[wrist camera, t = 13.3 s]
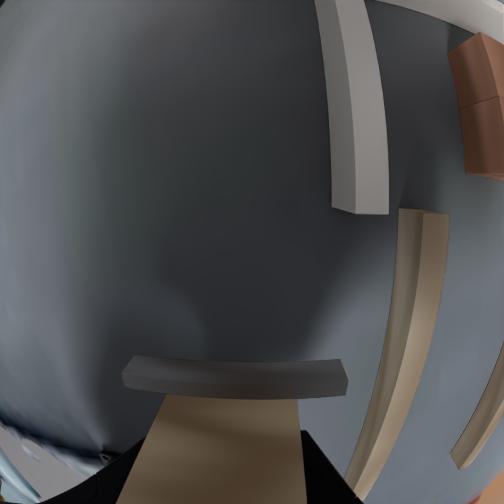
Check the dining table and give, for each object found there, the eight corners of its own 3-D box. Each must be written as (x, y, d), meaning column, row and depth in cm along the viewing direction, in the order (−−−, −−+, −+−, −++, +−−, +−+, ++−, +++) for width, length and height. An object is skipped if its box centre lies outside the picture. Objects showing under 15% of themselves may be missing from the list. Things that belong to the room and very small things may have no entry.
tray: (331, 206, 10) (355, 213, 7) (309, -22, 8) (317, -62, 5) (555, 221, 9) (587, 229, 6) (534, 59, 7) (560, 50, 4)
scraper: (160, 438, 10) (117, 546, 4) (134, 354, 9) (44, 480, 3) (324, 444, 10) (342, 565, 4) (340, 358, 9) (394, 519, 3)
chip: (457, 109, 9) (498, 95, 6) (446, 53, 8) (479, 31, 5) (497, 122, 9) (536, 114, 6) (486, 70, 8) (520, 55, 5)
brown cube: (464, 173, 10) (508, 173, 7) (458, 109, 9) (498, 96, 6) (502, 180, 9) (543, 183, 6) (498, 122, 9) (536, 115, 6)
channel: (342, 482, 14) (346, 503, 12) (398, 208, 10) (423, 212, 8) (460, 449, 13) (469, 465, 11) (537, 218, 9) (560, 224, 7)
